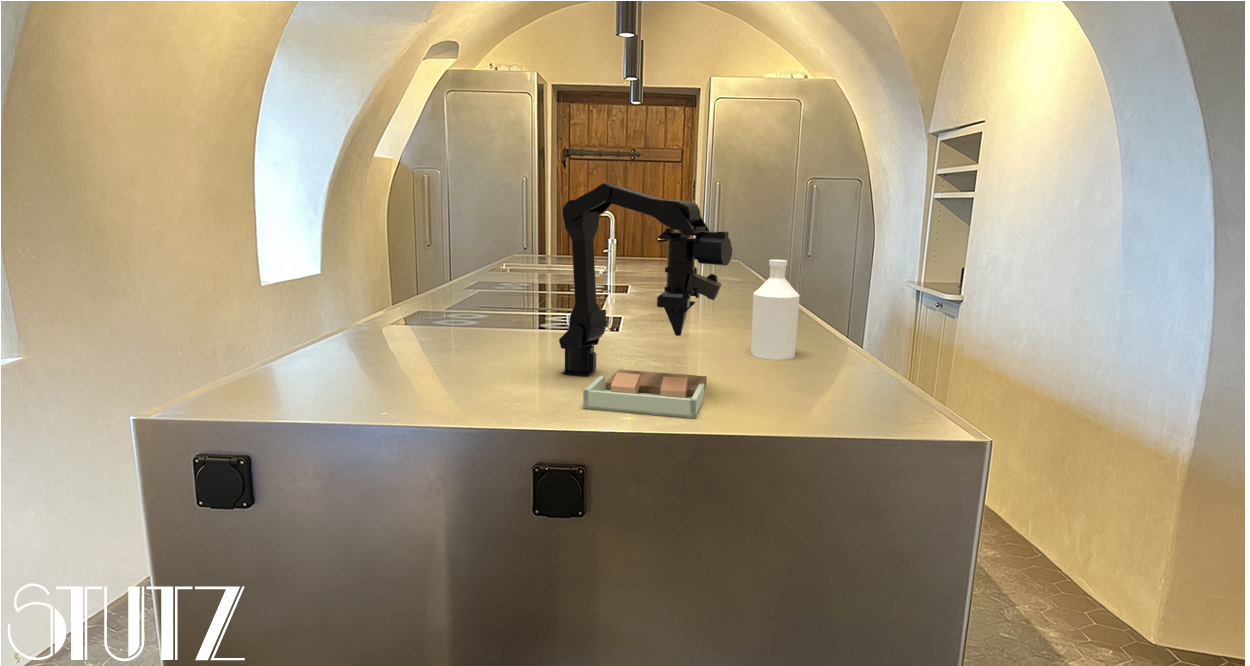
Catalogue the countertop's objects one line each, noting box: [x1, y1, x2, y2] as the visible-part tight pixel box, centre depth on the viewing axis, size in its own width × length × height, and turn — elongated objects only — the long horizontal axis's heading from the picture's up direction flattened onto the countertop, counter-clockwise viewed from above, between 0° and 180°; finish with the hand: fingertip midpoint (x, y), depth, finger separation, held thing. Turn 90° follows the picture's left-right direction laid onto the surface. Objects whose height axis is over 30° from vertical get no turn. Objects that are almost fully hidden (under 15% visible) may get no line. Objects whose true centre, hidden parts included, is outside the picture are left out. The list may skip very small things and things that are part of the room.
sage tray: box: [582, 375, 705, 419], centre depth 144 cm, size 22×12×4 cm, turn 76°
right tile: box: [660, 377, 688, 398], centre depth 147 cm, size 5×5×2 cm
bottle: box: [750, 259, 801, 361], centre depth 189 cm, size 12×12×25 cm
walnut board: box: [605, 369, 708, 397], centre depth 156 cm, size 20×12×2 cm, turn 76°
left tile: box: [611, 372, 641, 394], centre depth 149 cm, size 5×5×2 cm
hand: (678, 335), depth 154 cm, fingers closed
